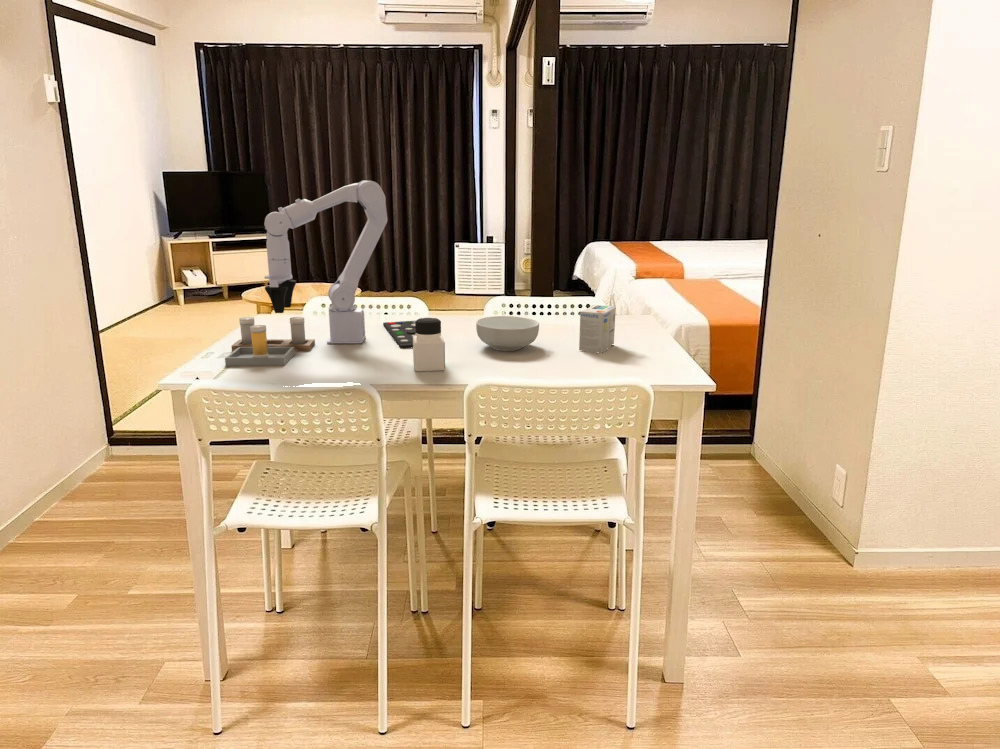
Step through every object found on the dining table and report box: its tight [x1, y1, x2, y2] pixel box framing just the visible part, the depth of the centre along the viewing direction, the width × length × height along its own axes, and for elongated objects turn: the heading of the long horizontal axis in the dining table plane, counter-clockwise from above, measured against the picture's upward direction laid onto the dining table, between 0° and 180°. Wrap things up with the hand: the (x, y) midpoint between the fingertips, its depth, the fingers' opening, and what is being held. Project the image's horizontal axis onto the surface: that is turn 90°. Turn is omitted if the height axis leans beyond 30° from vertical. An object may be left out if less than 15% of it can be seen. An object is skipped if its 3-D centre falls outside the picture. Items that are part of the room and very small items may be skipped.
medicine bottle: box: [412, 316, 446, 373], centre depth 173 cm, size 7×7×12 cm
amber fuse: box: [250, 324, 269, 357], centre depth 178 cm, size 4×4×8 cm
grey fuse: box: [289, 316, 306, 344], centre depth 191 cm, size 4×4×8 cm
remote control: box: [382, 320, 416, 349], centre depth 207 cm, size 11×30×2 cm, turn 18°
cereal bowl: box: [475, 315, 540, 352], centre depth 193 cm, size 17×17×7 cm
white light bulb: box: [238, 316, 255, 344], centre depth 190 cm, size 4×4×8 cm
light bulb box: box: [578, 304, 617, 354], centre depth 193 cm, size 11×7×11 cm, turn 154°
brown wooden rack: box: [231, 338, 316, 352], centre depth 191 cm, size 20×7×2 cm, turn 92°
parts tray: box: [224, 347, 296, 367], centre depth 179 cm, size 14×11×2 cm
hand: (282, 310), depth 193 cm, fingers open, 7 cm apart
